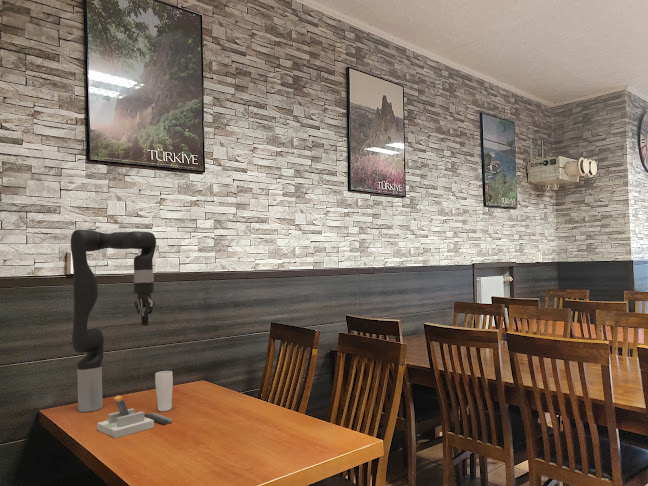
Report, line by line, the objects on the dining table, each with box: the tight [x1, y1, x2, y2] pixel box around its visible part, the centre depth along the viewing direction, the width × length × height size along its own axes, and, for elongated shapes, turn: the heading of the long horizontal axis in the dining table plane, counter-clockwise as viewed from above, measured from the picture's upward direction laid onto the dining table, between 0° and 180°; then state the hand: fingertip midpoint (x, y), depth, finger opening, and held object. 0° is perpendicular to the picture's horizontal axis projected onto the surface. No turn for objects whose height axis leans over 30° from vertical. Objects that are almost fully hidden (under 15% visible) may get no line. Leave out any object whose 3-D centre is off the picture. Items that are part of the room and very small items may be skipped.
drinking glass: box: [154, 370, 174, 412], centre depth 199 cm, size 7×7×15 cm
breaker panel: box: [96, 408, 155, 439], centre depth 176 cm, size 15×14×6 cm
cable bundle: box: [144, 411, 173, 425], centre depth 185 cm, size 16×4×2 cm, turn 47°
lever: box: [113, 394, 129, 417], centre depth 175 cm, size 5×2×9 cm, turn 47°
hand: (144, 325), depth 194 cm, fingers closed
